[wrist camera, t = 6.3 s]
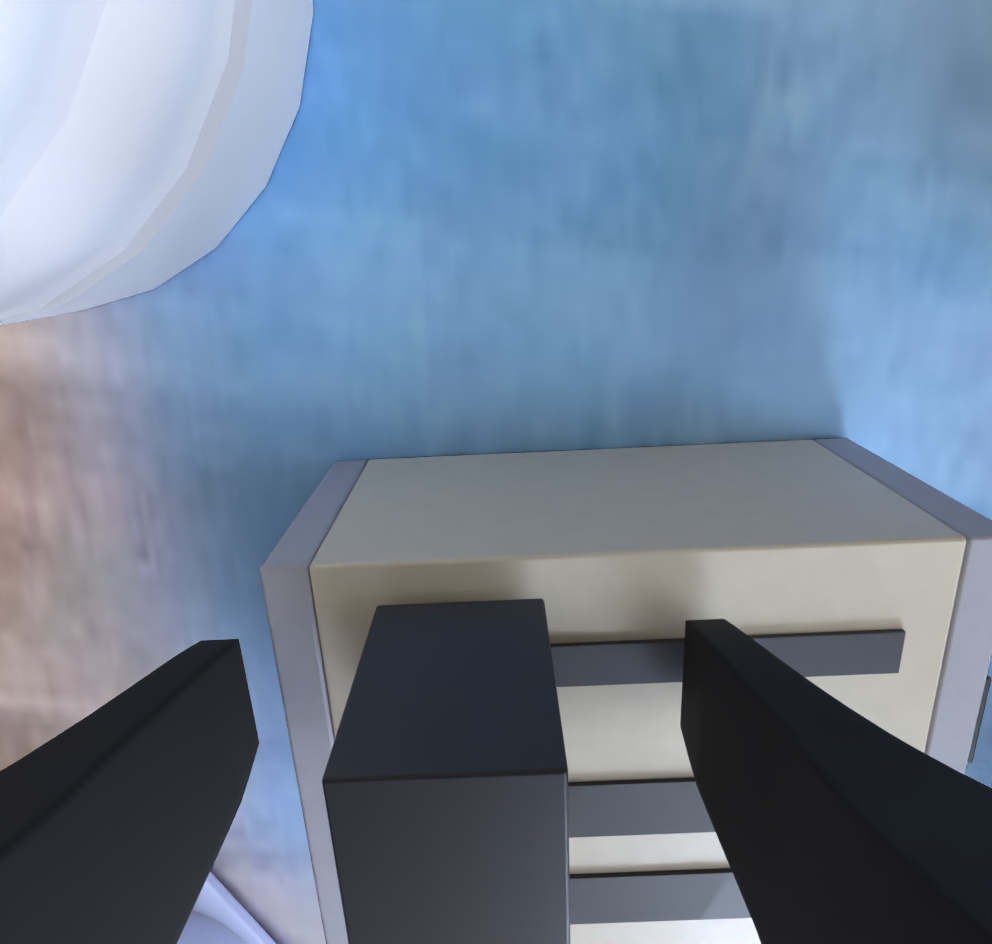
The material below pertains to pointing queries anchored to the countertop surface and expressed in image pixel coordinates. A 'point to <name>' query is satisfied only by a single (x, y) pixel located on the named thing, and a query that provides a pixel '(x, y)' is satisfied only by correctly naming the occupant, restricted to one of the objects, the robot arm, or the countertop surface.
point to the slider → (452, 780)
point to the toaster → (644, 627)
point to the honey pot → (134, 138)
